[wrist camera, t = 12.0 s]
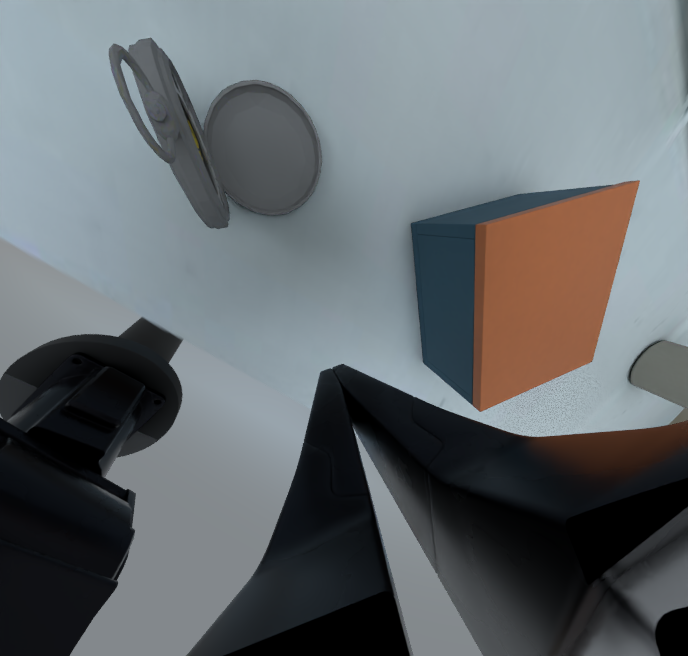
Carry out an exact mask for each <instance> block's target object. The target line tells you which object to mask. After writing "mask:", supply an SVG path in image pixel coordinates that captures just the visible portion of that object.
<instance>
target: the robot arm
mask: <svg viewBox="0 0 688 656" xmlns="http://www.w3.org/2000/svg"><path fill="white" fill-rule="evenodd" d="M76 358H78V359H80V360H81V361H82V362H78V361H77V360H76ZM156 399H158V400H160V402H157V401H156ZM165 402H166V397H165V396H164V395H163V394H161V393H159V392H157V391H155V390H154V389H152V388H150V387H148V386H146V385H144V384H143V383H141V382H139V381H137V380H135V379H133V378H132V377H130V376H128V375H126V374H124V373H122V372H120V371H118V370H116V369H114V368H113V367H110V366H108V365H106V364H104V363H102V362H100V361H99V360H97V359H95V358H93V357H91V356H89V355H87V354H85V353H82V352H77V353H74V354H72V355H71V356H70V357H68V358H67V359H66V360H65V361H64V362H63V363H62V364H61V365H60V366H59V367H58V368H57V369H56V370H55V371H54V372H53V373H52V374H51V375H50V376H49V377H48V378H47V379H46V380H45V381H44V382H43V383H42V384H41V385H40V386H39V387H38V388H37V389H36V390H35V391H34V392H33V393H32V394H31V395H30V396H29V397H28V398H27V399H26V400H25V402H24V403H23V404H22V405H21V406H20V407H19V408H18V409H17V410H16V411H15V412H14V413H13V414H12V415H11V418H10V419H9V420H8V421H5V420H4V419H2V418H0V656H70V654H71V652H72V650H73V649H74V647H75V646H76V644H77V643H78V641H79V640H80V638H81V636H82V635H83V633H84V632H85V630H86V629H87V627H88V626H89V624H90V623H91V621H92V620H93V618H94V617H95V615H96V614H97V613H98V611H99V610H100V609H101V607H102V606H103V605H104V604H105V602H106V601H107V600H108V598H109V597H110V596H111V594H112V593H113V592H114V590H115V589H116V587H117V585H118V581H117V579H118V577H119V575H120V573H121V571H122V569H123V567H124V565H125V562H126V560H127V557H128V553H129V549H130V546H131V544H132V541H133V539H134V533H135V530H134V529H133V528H132V523H133V514H134V505H135V496H136V493H134V492H133V491H131V490H129V489H127V490H125V489H123V488H121V487H119V486H118V485H116V484H114V483H113V482H111V481H109V480H107V479H106V478H104V477H105V476H106V474H107V472H108V471H109V469H110V467H111V466H112V464H113V462H114V461H115V459H116V457H117V456H118V454H119V452H120V451H121V449H122V447H123V446H124V444H125V442H126V441H127V440H128V439H129V438H130V437H131V436H132V435H133V434H134V433H135V432H136V431H137V430H138V429H139V428H140V427H141V426H143V425H144V424H145V423H146V422H147V421H148V420H149V419H150V418H151V417H152V416H153V415H154V414H155V413H156V412H157V411H158V410H159V409H160V408H161V407H162V406H163V405H164V403H165ZM353 428H354V429H355V431H356V433H357V435H358V437H359V439H360V440H361V442H362V444H363V445H364V447H365V449H366V451H367V452H368V454H369V456H370V458H371V460H372V461H373V463H374V465H375V467H376V468H377V470H378V472H379V474H380V475H381V477H382V479H383V481H384V482H385V484H386V486H387V488H388V489H389V491H390V493H391V495H392V496H393V498H394V500H395V502H396V503H397V505H398V507H399V509H400V510H401V512H402V514H403V516H404V517H405V519H406V521H407V523H408V524H409V526H410V528H411V530H412V531H413V533H414V535H415V537H416V538H417V540H418V542H419V544H420V545H421V547H422V549H423V551H424V553H425V554H426V556H427V558H428V559H429V561H430V563H431V565H432V566H433V568H434V570H435V572H436V573H437V574H438V577H439V579H440V581H441V582H442V584H443V586H444V588H445V589H446V591H447V593H448V595H449V596H450V598H451V600H452V602H453V604H454V605H455V607H456V609H457V611H458V612H459V613H460V616H461V618H462V619H463V621H464V623H465V625H466V626H467V628H468V630H469V631H470V633H471V635H472V637H473V639H474V640H475V642H476V644H477V646H478V647H479V649H480V651H481V652H482V654H483V656H688V420H686V421H684V422H680V423H676V424H672V425H666V426H661V427H654V428H646V429H636V430H623V431H610V432H598V433H585V434H572V435H560V436H547V437H529V436H522V435H518V434H513V433H510V432H507V431H503V430H501V429H498V428H495V427H492V426H489V425H486V424H483V423H480V422H477V421H475V420H472V419H469V418H466V417H463V416H460V415H457V414H455V413H452V412H449V411H447V410H444V409H441V408H439V407H436V406H434V405H432V404H429V403H427V402H425V401H423V400H420V399H418V398H416V397H413V396H412V395H409V394H407V393H405V392H403V391H401V390H399V389H396V388H394V387H392V386H390V385H388V384H385V383H383V382H381V381H379V380H377V379H375V378H372V377H370V376H368V375H366V374H364V373H362V372H359V371H357V370H355V369H353V368H351V367H349V366H346V365H344V364H341V365H338V366H335V367H333V368H332V369H331V368H330V369H327V370H324V371H321V372H320V376H319V380H318V384H317V388H316V392H315V397H314V401H313V405H312V409H311V414H310V418H309V422H308V426H307V430H306V435H305V439H304V443H303V447H302V451H301V455H300V459H299V462H298V466H297V469H296V472H295V476H294V479H293V481H292V484H291V487H290V490H289V492H288V495H287V498H286V500H285V503H284V506H283V508H282V511H281V513H280V516H279V519H278V522H277V524H276V527H275V530H274V532H273V535H272V538H271V540H270V543H269V545H268V548H267V550H266V552H265V554H264V556H263V559H262V561H261V562H260V564H259V566H258V568H257V570H256V571H255V573H254V574H253V576H252V577H251V579H250V580H249V581H248V582H247V584H246V585H245V586H244V587H243V588H242V590H241V591H240V592H239V593H238V594H237V596H236V597H235V598H234V599H233V600H232V602H231V603H230V604H229V605H228V606H227V608H226V609H225V610H224V611H223V613H222V614H221V615H220V616H219V617H218V618H217V620H216V621H215V622H214V623H213V624H212V626H211V627H210V628H209V629H208V631H207V632H206V633H205V634H204V635H203V636H202V638H201V639H200V640H199V641H198V642H197V644H196V645H195V646H194V647H193V648H192V650H191V651H190V652H189V653H188V654H187V656H413V653H412V649H411V645H410V641H409V638H408V634H407V630H406V626H405V623H404V619H403V615H402V611H401V607H400V604H399V600H398V596H397V592H396V588H395V584H394V581H393V577H392V573H391V569H390V566H389V562H388V558H387V554H386V550H385V546H384V543H383V539H382V535H381V532H380V528H379V524H378V520H377V516H376V512H375V509H374V505H373V501H372V497H371V493H370V490H369V486H368V482H367V478H366V475H365V471H364V467H363V463H362V459H361V455H360V452H359V448H358V444H357V440H356V436H355V433H354V429H353Z"/></svg>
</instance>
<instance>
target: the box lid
mask: <svg viewBox="0 0 688 656" xmlns="http://www.w3.org/2000/svg"><path fill="white" fill-rule="evenodd" d="M639 182H640V181H639V180H638V181H629V182H623V183H619V184H616V185H612V186H609V187H605V188H602V189H598V190H595V191H591V192H588V193H584V194H581V195H577V196H574V197H570V198H567V199H563V200H560V201H556V202H553V203H549V204H546V205H542V206H539V207H535V208H532V209H528V210H525V211H521V212H518V213H514V214H511V215H507V216H504V217H500V218H497V219H493V220H490V221H486V222H483V223H479V224H476V230H475V292H474V355H473V406H474V407H475V408H476V409H477V410H478V411H480V412H481V411H483V410H486V409H488V408H490V407H492V406H494V405H497V404H499V403H501V402H503V401H506V400H508V399H510V398H512V397H514V396H517V395H519V394H521V393H523V392H526V391H528V390H530V389H532V388H534V387H537V386H539V385H541V384H543V383H546V382H548V381H550V380H552V379H554V378H557V377H559V376H561V375H563V374H565V373H568V372H570V371H572V370H574V369H577V368H579V367H581V366H583V365H585V364H588V363H590V362H592V360H593V356H594V353H595V349H596V345H597V341H598V337H599V334H600V330H601V326H602V322H603V318H604V315H605V311H606V307H607V303H608V300H609V296H610V292H611V288H612V284H613V281H614V277H615V273H616V269H617V265H618V262H619V258H620V254H621V250H622V247H623V243H624V239H625V235H626V231H627V228H628V224H629V220H630V216H631V212H632V209H633V205H634V201H635V197H636V193H637V190H638V186H639Z"/></svg>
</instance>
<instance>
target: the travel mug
mask: <svg viewBox="0 0 688 656" xmlns="http://www.w3.org/2000/svg"><path fill="white" fill-rule="evenodd" d="M631 383H632V384H633V385H634V386H637V387H639V388H641V389H644V390H646V391H648V392H650V393H653V394H655V395H657V396H659V397H662V398H664V399H666V400H669V401H671V402H673V403H675V404H678V405H680V406H682V407H684V408H687V409H688V347H686V346H682V345H679V344H676V343H672V342H669V341H661V342H659V343H657V344H655V345H653V346H651V347H649V348H648V349H647V350H646V351H645V352H643V353H642V355H641V356H640V357H639V358H638V359H637V361H636V363H635V364H634V366H633V368H632V371H631Z"/></svg>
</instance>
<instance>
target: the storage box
mask: <svg viewBox="0 0 688 656" xmlns="http://www.w3.org/2000/svg"><path fill="white" fill-rule="evenodd" d="M609 186H612V185H606V186H596V187H586V188H576V189H566V190H556V191H546V192H536V193H527V194H518V195H514V196H510V197H507V198H503V199H499V200H496V201H492V202H488V203H484V204H481V205H477V206H473V207H470V208H466V209H462V210H458V211H455V212H451V213H447V214H444V215H440V216H436V217H432V218H429V219H425V220H421V221H418V222H414V223H411V229H412V240H413V251H414V262H415V274H416V285H417V296H418V307H419V319H420V330H421V341H422V353H423V363H424V364H425V365H426V366H428V367H429V368H430V369H431V370H432V371H433V372H434V373H436V374H437V375H438V376H439V377H440V378H441V379H443V380H444V381H445V382H446V383H447V384H448V385H450V386H451V387H452V388H453V389H454V390H455V391H457V392H458V393H459V394H460V395H461V396H462V397H463V398H465V399H466V400H467V401H468V402H469V403H470V404H472V405H473V355H474V292H475V230H476V224H479V223H483V222H486V221H490V220H493V219H497V218H500V217H504V216H507V215H511V214H514V213H518V212H521V211H525V210H528V209H532V208H535V207H539V206H542V205H546V204H549V203H553V202H556V201H560V200H563V199H567V198H570V197H574V196H577V195H581V194H584V193H588V192H591V191H595V190H598V189H602V188H605V187H609Z"/></svg>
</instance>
